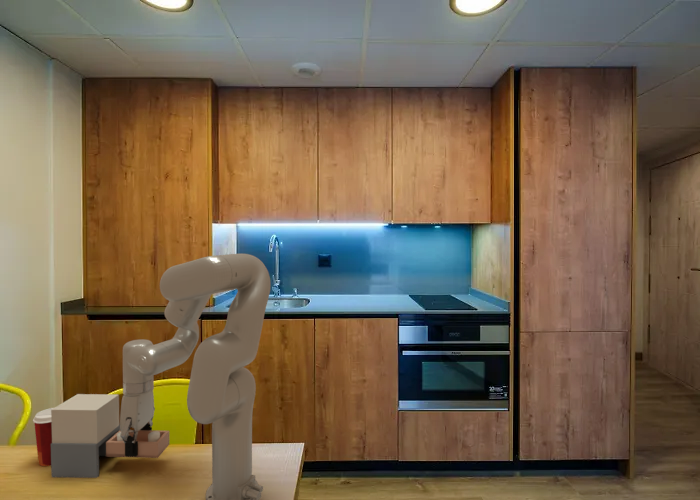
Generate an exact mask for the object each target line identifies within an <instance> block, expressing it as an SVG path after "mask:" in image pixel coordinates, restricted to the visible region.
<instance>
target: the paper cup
mask: <svg viewBox="0 0 700 500" xmlns="http://www.w3.org/2000/svg"><path fill="white" fill-rule="evenodd" d="M53 408H54V407H50V408H47V409H43V410H41V411H40V410H39V411H38V412H36V414H35V415H34V418H33V419H32V422H33V423H34V424H33V425H34V430H35V431H34V432H35V443H36V451H37V460H38V465H39V466H40V467H49V466H50V467H51V444H52V420H51V410H52V409H53Z"/></svg>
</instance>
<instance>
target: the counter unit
mask: <svg viewBox="0 0 700 500" xmlns="http://www.w3.org/2000/svg"><path fill="white" fill-rule="evenodd" d="M52 408H53V409H52V410H51V420H52V444H51V465H50V467H51V472H50V473H51V478H85V479H86V478H88V479H89V478H90V479H93V478H95V479H98V477H99V476H100V459H99V457H106V442H107V441H108V440H109V439H110V438H112V437H113V436H114V435H115V434H116V433H117V432H118V431H120V395H119V394H109V393H108V394H106V393H105V394H104V393H103V394H97V393H95V394H94V393H93V394H92V393H90V394H88V393H87V394H85V393H76V395H74V396H72V397H71V398H69V399H67V400H65V401H63V402H62V403H60V404H58V405H57V406H55V407H52Z"/></svg>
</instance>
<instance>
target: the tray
mask: <svg viewBox="0 0 700 500" xmlns="http://www.w3.org/2000/svg"><path fill="white" fill-rule="evenodd" d="M133 434H134V432H130V433H129V436H132V437H133ZM120 435H121V431H118V432H117V433H116V434H115V435H114V436H113V437H112V438H110V439H109V440H108V441H107V442H106V456H105V457H106V458H128V457H127V456H125V443H124V441H123V439H122V438H121V437H120ZM136 441H138V455H137V456H136V457H135V458H138V459H139V458H142V459H143V458H144V459H145V458H147V459H159V458H160V457H161V455H162V454H163V453H164V451H165V450H166V449H167V448H168V447H169V446H170V430H154V429H152V430H139V431H138V434H137V439H136Z"/></svg>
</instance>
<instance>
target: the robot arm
mask: <svg viewBox="0 0 700 500" xmlns="http://www.w3.org/2000/svg"><path fill="white" fill-rule="evenodd" d="M235 290H237V293H236V294H235V297H234V298H233V300H232V301H231V303H230V306H229V307H228V308H229V309H228V312H227V318H226V323H225V326H224V328H223V329H222V331H221V332H219V333H216V334H212V335H210V336H209V337H207V338H205V339H204V340H202V342H201V343H200V344H199V345H198V347H197V348H196V346H197V344H198V341H199V339H200V326H199V324H198V321H199V318H200V317H201V315H202V313H203V312H204V309H206V306H207V304H208V302H209V300H210V298H211V297H212V295H215V294H220V293H223V292H228V291H235ZM159 291H160V294H161V296H162V297H163V298H164V299H165V300H167V301H168V303H167V305H166V307H165V309H164V317H165V319H166V320H167V321H168V323H170V324H171V325H173V326H175V327H176V328H177V330H176V332H175V334H174V336H173V337H172V338H171V339H168V340H165V341H162V342H159V343H156V344H153V342H152V341H151V340H149V339H143V338H142V339H141V338H140V339H133V340H130V341H127V342H126V343H125V344H124V345H123V346H122V389H123V390H122V394H123V395H122V399H121V405H120V412H119V424H120V431H121V435H120V437H121V438H122V439H123V441H124V443H125V456H127V457H126V458H137V457H136V456H137V455H138V441H136V439H137V434H138V431H139V430H153V424H154V423H153V419H154V416H155V414H154V413H155V409H156V408H155V399H154V397H155V395H154V389H155V388H154V385H155V384H154V379H155V378H154V375H155V376H156V375H158V374H160V373H163V372H165V371H168V370H170V369H173V368H175V367H178V366H180V365H182V364H185V362H186V361H187V360H188V359H189V358H190V356H191V355H192V353H193V352H194V349H195V348H196V351H195V352H194V356H193V360H192V366H191V372H190V378H189V383H188V388H187V396H186V403H187V404H186V405H187V410H188V413H189V415H190V417H191V418H192V419H193V420H194V421H195V422H196V423H198V424H201V425H209V424H211V447H212V448H211V463H212V468H211V469H212V470H211V472H212V473H211V474H212V475H211V476H212V479H211V481H212V484H210V485H209V486H208V488H207V490H206V492H205V500H261V497H262V492H263V490H264V486H263V485H261V484H259V483H258V481H257V480H256V475H254V474H253V411H254V410H253V409H254V403H255V398H256V393H257V392H256V391H257V387H256V386H257V385H256V379H255V377H254V375H253V373H252V372H251V371H250V370H249V369H248V368H247V367H246V366H248V365H250V364H251V363H252V362H254V360H255V359H256V358H257V354H258V349H259V346H260V340H261V335H262V330H263V323H264V318H265V312H266V309H267V305H268V302H269V299H270V298H269V297H270V292H271V278H270V272H269V270H268V269H267V267H266V266H265V264H264V263H263V261H262V260H260V259H259V257H256V256H255V255H253V254H249V253H229V254H221V255H220V254H215V255H210V256H209V255H208V256H204V257H200V258H197V259H194V260H191V261H186V262H183V263H180V264H176V265H172V266H171V267H169V268H167V269H166V270H165V271H164V272H163V274H162V275H161V278H160V281H159ZM131 428H132V429H131ZM130 432H134V434H133V437H132V436H129V433H130Z"/></svg>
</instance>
